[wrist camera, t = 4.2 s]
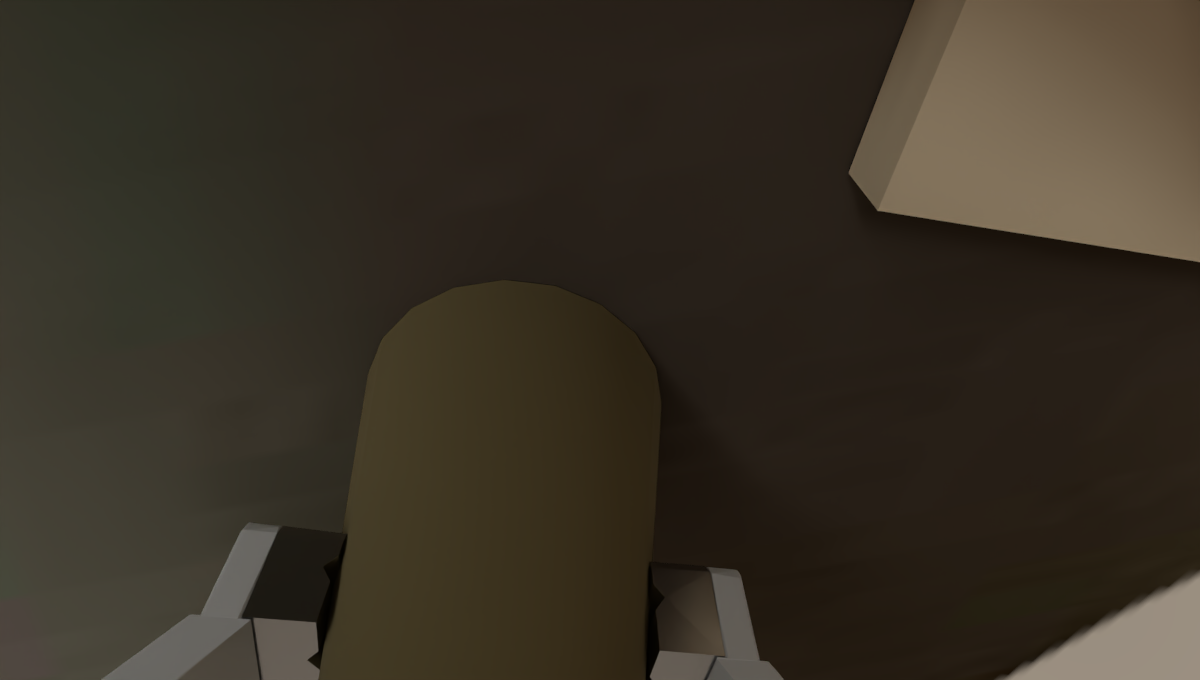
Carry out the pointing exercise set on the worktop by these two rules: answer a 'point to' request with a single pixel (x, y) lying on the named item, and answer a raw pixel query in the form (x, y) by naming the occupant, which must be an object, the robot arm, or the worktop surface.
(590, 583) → the cork
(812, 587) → the worktop surface
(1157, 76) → the collar board
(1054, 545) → the worktop surface
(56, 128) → the worktop surface
